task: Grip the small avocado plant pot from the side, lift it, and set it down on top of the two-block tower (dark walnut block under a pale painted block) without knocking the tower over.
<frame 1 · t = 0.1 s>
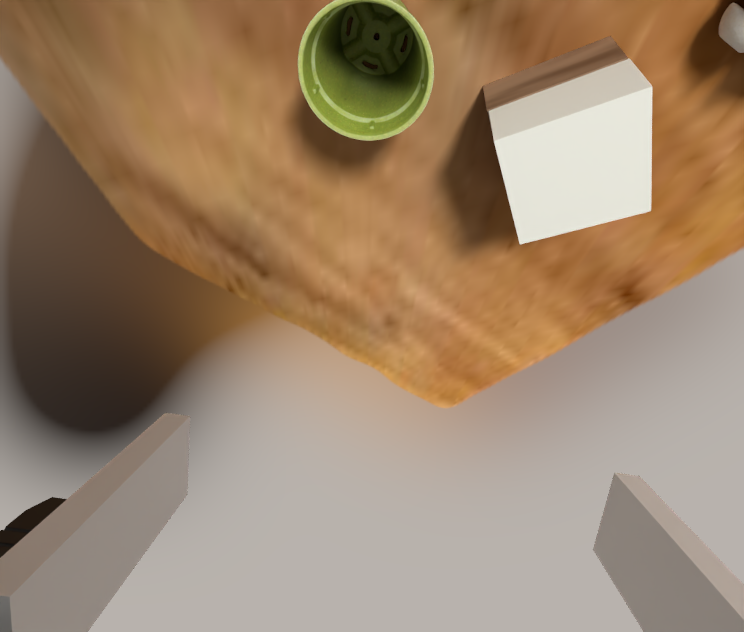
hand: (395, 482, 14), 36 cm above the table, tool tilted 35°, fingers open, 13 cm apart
pale top block: (563, 145, 37), point 5 cm above the table, touching walnut base block
plant pot: (377, 35, 36), on the table
walnut base block: (551, 117, 40), on the table, touching pale top block
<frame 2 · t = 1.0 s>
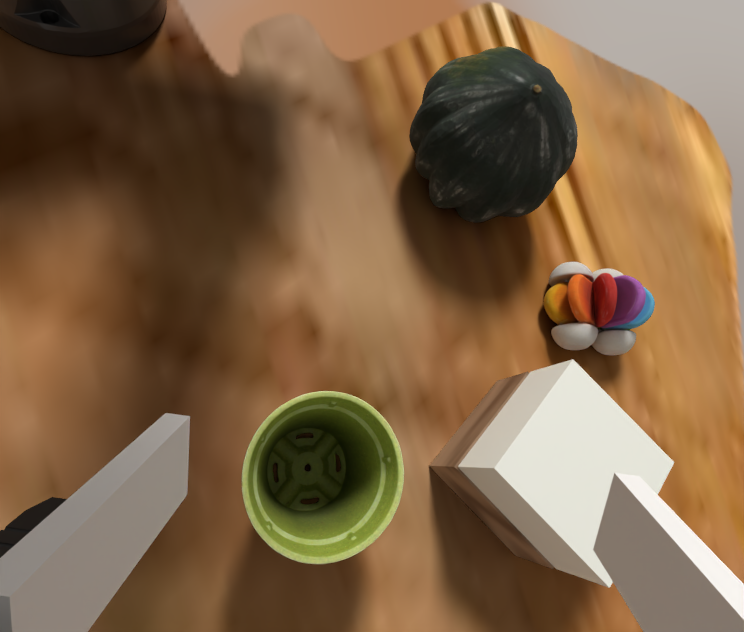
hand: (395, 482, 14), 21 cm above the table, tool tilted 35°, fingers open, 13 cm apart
rainbow petal cluster: (575, 315, 45), on the table
pale top block: (542, 464, 34), point 5 cm above the table, touching walnut base block
plant pot: (306, 469, 34), on the table
walnut base block: (503, 463, 38), on the table, touching pale top block
squash: (462, 178, 46), on the table
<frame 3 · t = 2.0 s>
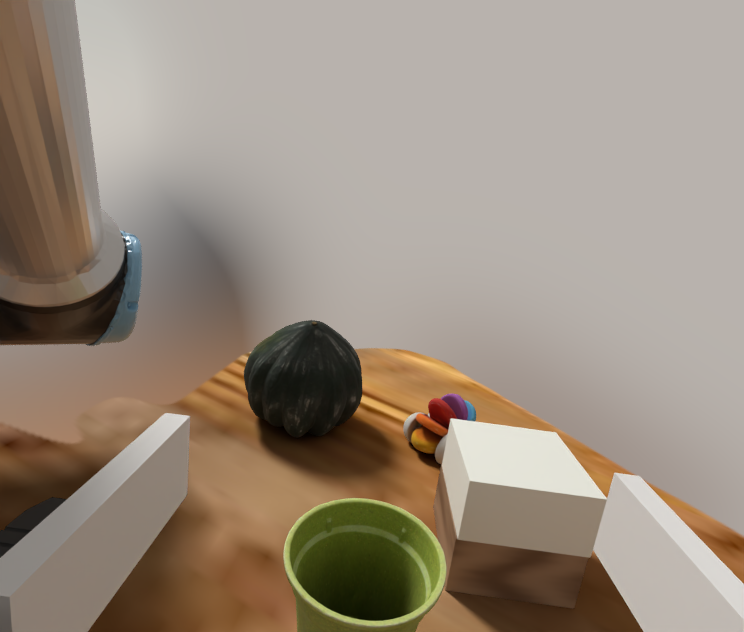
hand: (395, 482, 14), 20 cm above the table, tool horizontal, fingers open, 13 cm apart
rainbow petal cluster: (441, 450, 56), on the table
pale top block: (506, 505, 38), point 5 cm above the table, touching walnut base block
walnut base block: (494, 553, 39), on the table, touching pale top block
squash: (302, 422, 58), on the table
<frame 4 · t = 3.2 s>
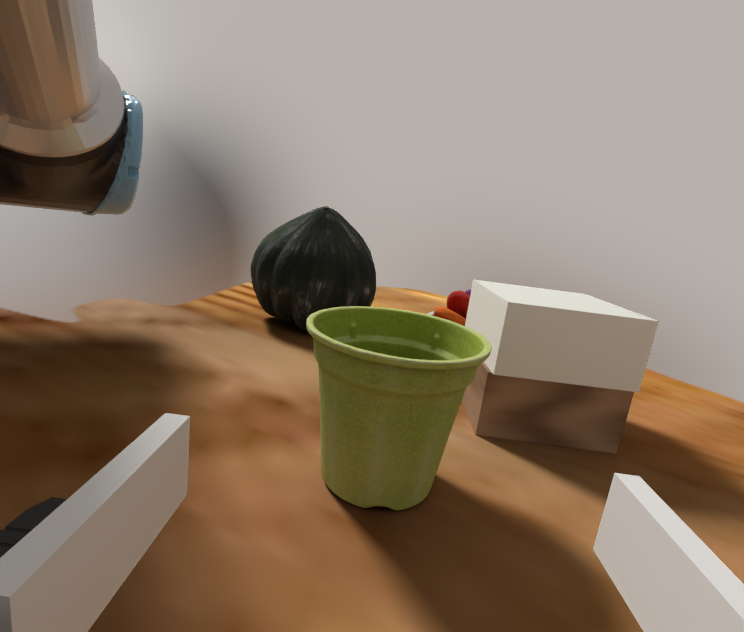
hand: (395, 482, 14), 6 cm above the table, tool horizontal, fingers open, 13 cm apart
rainbow petal cluster: (460, 350, 53), on the table
pale top block: (538, 359, 35), point 5 cm above the table, touching walnut base block
plant pot: (376, 481, 25), on the table
walnut base block: (523, 416, 36), on the table, touching pale top block
squash: (311, 325, 55), on the table
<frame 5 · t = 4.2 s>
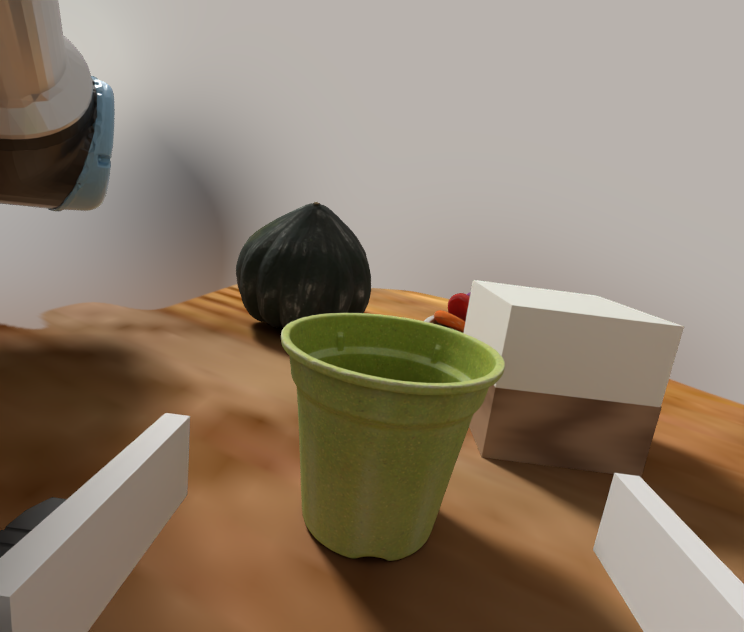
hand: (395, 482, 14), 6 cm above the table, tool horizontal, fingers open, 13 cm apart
rainbow petal cluster: (462, 357, 49), on the table
pale top block: (546, 368, 31), point 5 cm above the table, touching walnut base block
plant pot: (367, 519, 21), on the table
walnut base block: (533, 432, 32), on the table, touching pale top block
squash: (302, 330, 51), on the table
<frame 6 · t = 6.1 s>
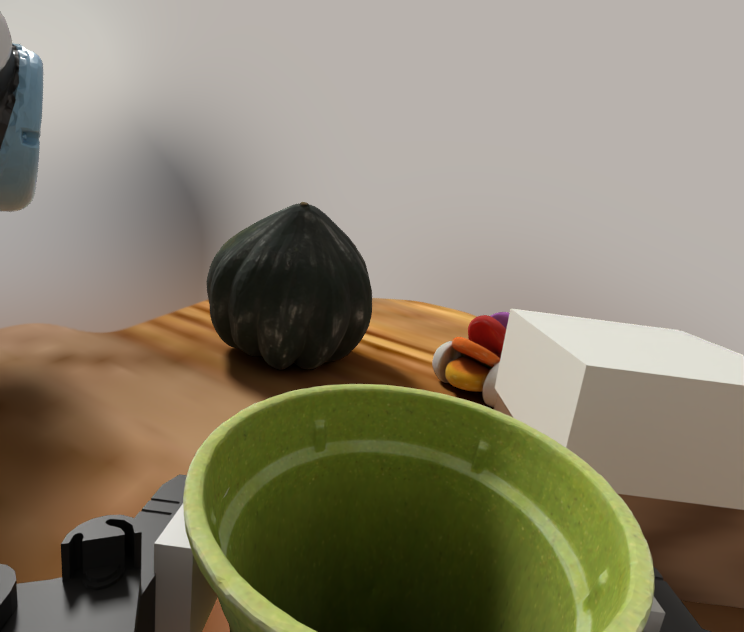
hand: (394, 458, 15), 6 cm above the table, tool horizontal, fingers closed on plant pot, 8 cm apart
rainbow petal cluster: (485, 392, 40), on the table
pale top block: (617, 438, 22), point 5 cm above the table, touching walnut base block
walnut base block: (597, 523, 23), on the table, touching pale top block
squash: (288, 357, 42), on the table
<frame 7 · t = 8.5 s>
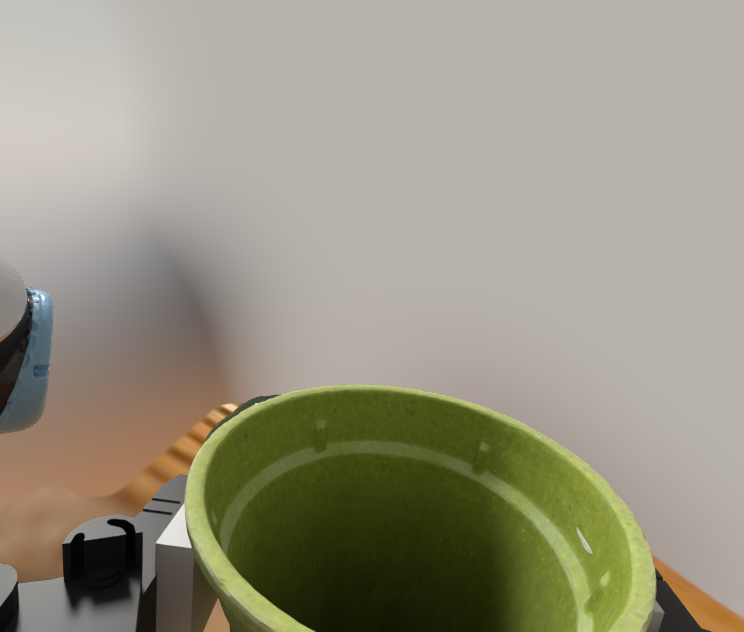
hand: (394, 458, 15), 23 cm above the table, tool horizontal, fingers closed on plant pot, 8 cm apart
squash: (274, 517, 46), on the table
when the fingers open (20 cm above the table, at t = 11.0 s): plant pot drops 2 cm, resting on pale top block.
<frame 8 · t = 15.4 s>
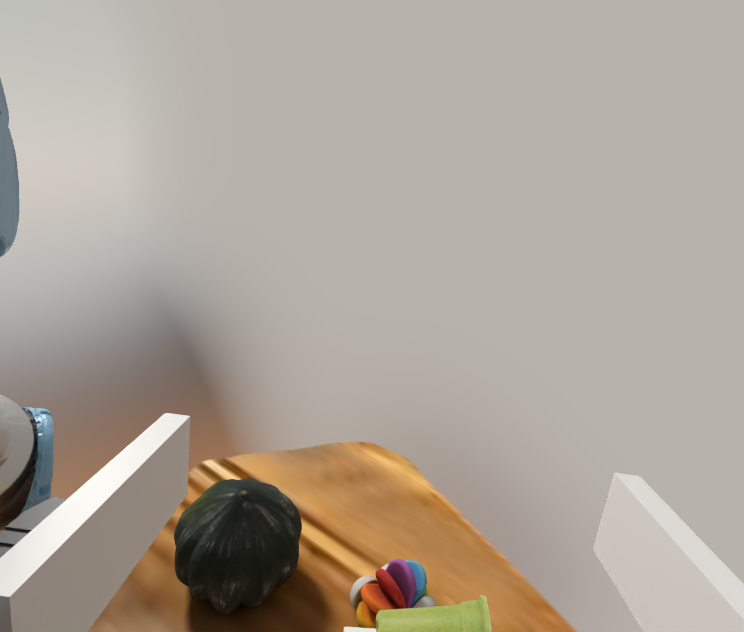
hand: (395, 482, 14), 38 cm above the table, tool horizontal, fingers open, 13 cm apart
rainbow petal cluster: (390, 618, 53), on the table
squash: (238, 580, 55), on the table
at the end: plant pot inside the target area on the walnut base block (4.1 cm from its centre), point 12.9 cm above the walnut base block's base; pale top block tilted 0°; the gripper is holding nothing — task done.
